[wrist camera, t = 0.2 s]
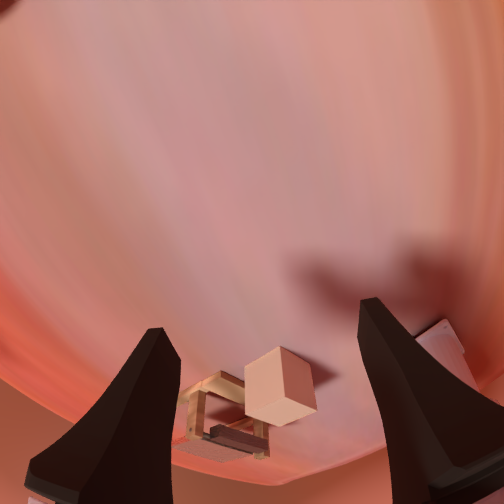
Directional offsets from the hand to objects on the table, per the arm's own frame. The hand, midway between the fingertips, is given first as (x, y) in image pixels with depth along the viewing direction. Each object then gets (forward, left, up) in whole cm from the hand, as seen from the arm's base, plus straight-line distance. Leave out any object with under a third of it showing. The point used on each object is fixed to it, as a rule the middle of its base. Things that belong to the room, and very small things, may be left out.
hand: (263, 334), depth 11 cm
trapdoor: (-16, +20, -5) cm, 26 cm away
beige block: (-14, +11, -11) cm, 20 cm away
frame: (-16, +20, -10) cm, 27 cm away
